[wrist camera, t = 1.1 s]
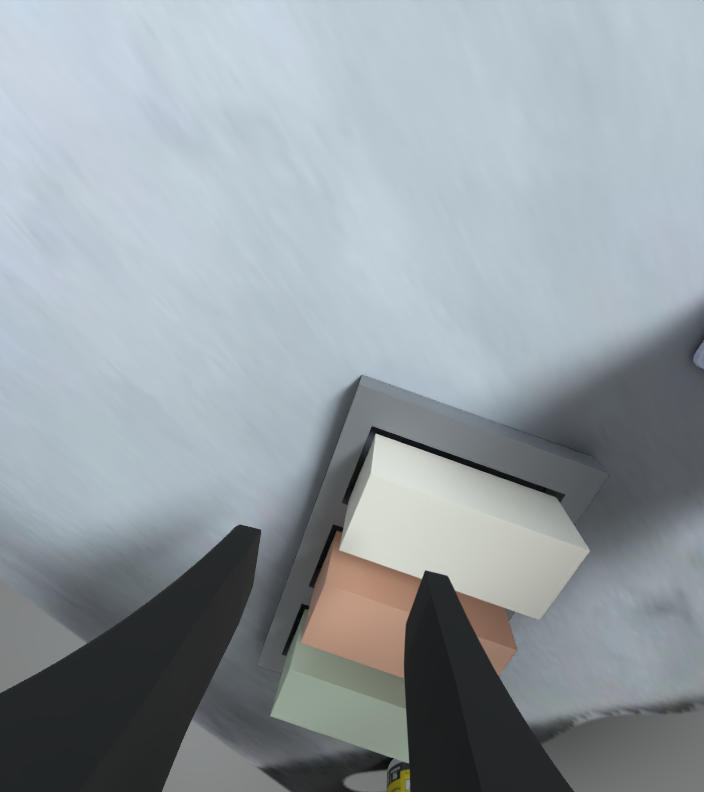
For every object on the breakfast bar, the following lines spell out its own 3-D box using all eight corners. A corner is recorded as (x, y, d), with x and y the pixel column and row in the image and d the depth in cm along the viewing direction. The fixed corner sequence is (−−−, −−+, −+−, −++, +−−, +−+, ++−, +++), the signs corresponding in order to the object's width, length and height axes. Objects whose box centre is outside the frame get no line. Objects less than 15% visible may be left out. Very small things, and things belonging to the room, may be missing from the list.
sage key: (451, 659, 23) (460, 727, 20) (425, 700, 24) (429, 770, 21) (305, 608, 23) (289, 668, 19) (287, 653, 24) (269, 716, 21)
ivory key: (556, 497, 18) (590, 550, 15) (516, 559, 20) (539, 620, 17) (375, 433, 18) (370, 473, 15) (348, 500, 20) (339, 550, 17)
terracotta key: (498, 587, 21) (517, 650, 17) (466, 637, 22) (478, 704, 19) (336, 530, 21) (325, 583, 17) (315, 584, 22) (300, 642, 19)
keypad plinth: (594, 457, 19) (610, 473, 18) (433, 701, 26) (435, 727, 25) (362, 374, 19) (359, 384, 18) (264, 643, 26) (256, 665, 25)
